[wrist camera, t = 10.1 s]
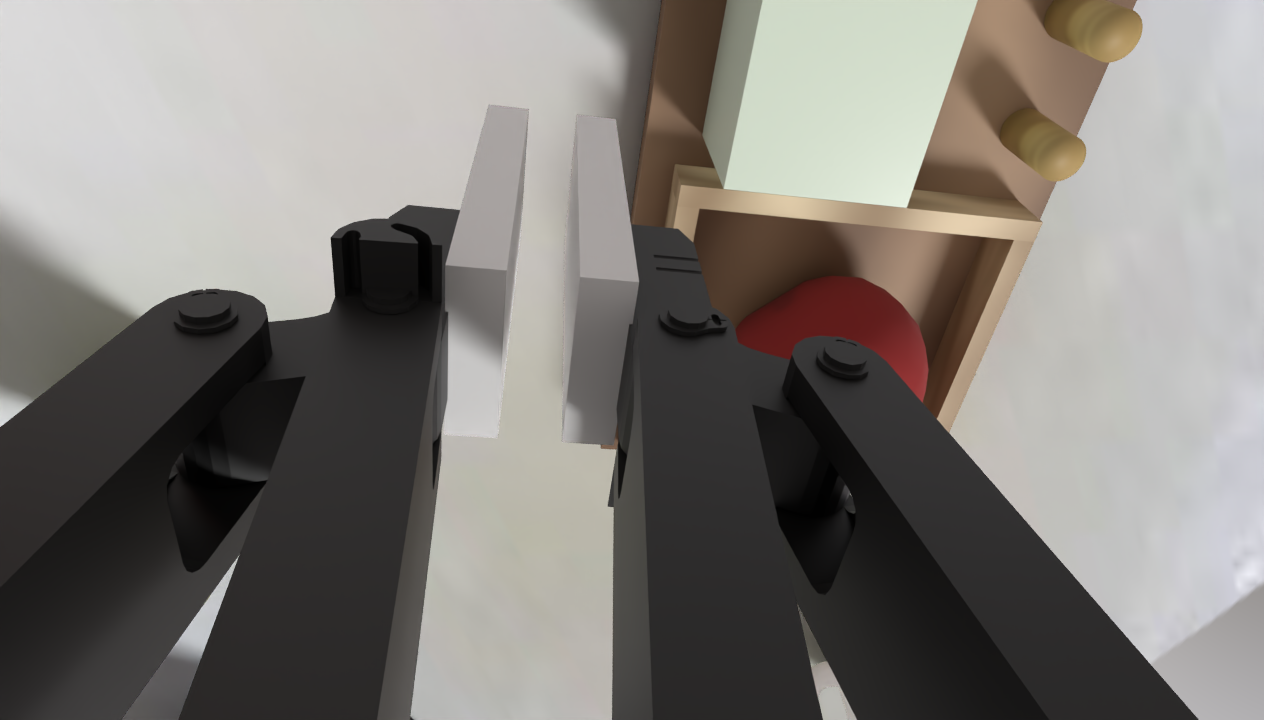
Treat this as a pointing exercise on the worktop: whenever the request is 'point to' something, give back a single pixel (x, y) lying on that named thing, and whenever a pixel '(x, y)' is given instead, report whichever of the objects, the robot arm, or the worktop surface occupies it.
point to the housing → (831, 95)
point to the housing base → (942, 195)
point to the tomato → (841, 324)
